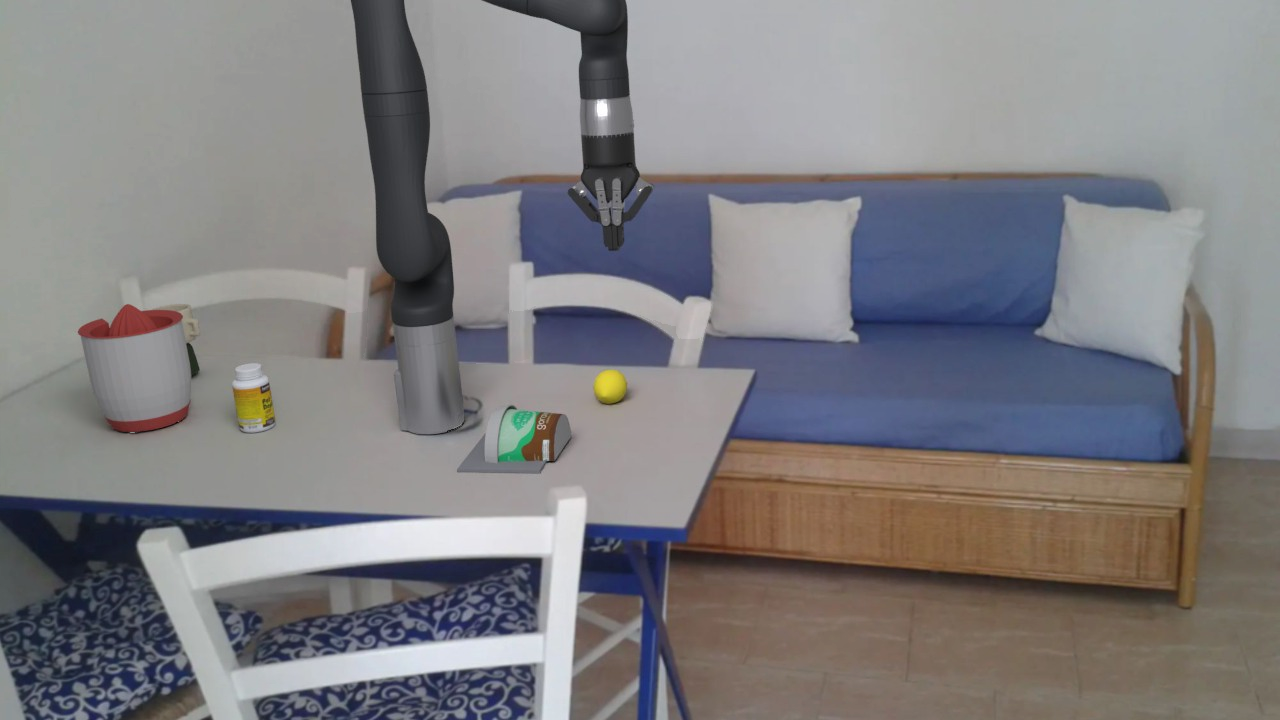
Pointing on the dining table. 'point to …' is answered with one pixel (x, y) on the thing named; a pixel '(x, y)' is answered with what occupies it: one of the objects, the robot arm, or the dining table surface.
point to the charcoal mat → (478, 464)
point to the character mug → (187, 330)
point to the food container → (525, 435)
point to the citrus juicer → (139, 368)
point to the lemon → (610, 386)
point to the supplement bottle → (253, 399)
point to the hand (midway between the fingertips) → (614, 249)
